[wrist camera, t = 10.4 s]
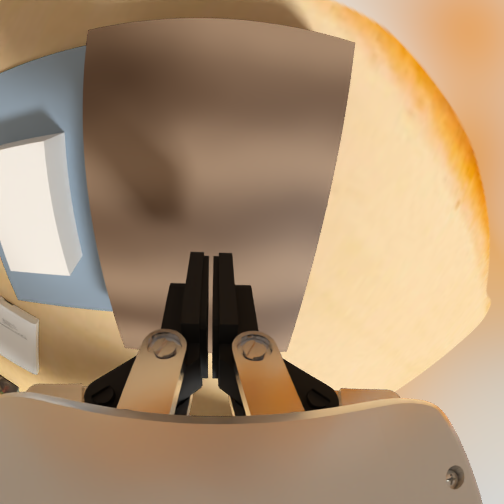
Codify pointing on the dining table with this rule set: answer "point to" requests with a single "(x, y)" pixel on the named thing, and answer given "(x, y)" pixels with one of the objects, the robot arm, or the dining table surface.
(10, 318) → the external hard drive
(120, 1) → the dining table surface
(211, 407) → the dining table surface
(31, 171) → the white foam block
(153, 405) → the robot arm
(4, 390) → the coffee box
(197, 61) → the brown flat block
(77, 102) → the mat
